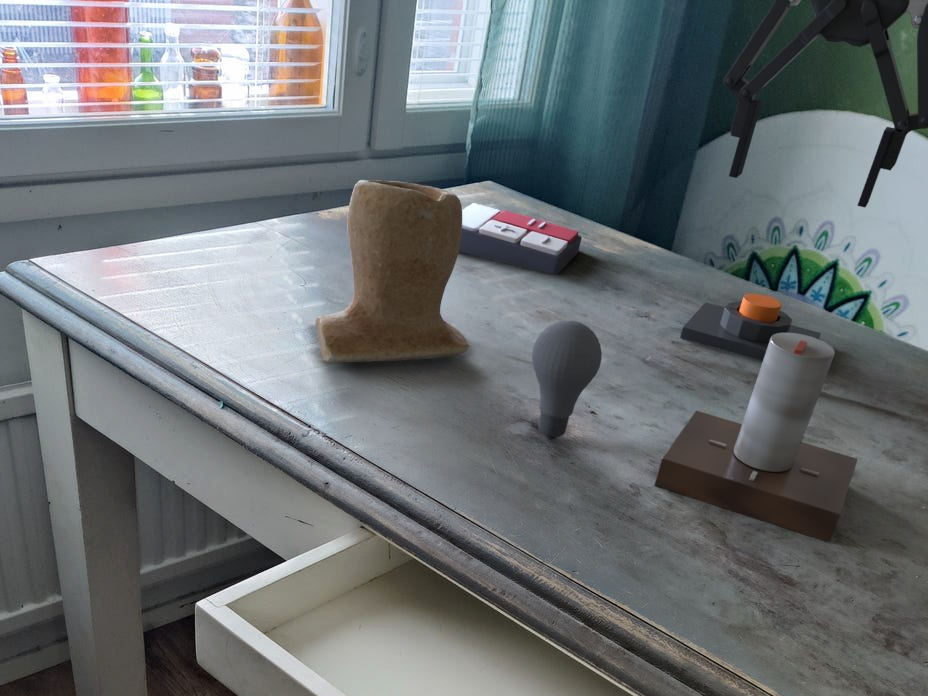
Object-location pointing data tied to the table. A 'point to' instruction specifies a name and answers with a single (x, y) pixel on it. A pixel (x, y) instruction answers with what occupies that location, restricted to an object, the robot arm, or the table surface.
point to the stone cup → (397, 275)
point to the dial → (783, 401)
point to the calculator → (517, 239)
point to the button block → (737, 330)
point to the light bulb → (563, 371)
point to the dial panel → (757, 478)
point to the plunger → (760, 307)
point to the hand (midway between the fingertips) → (797, 189)
